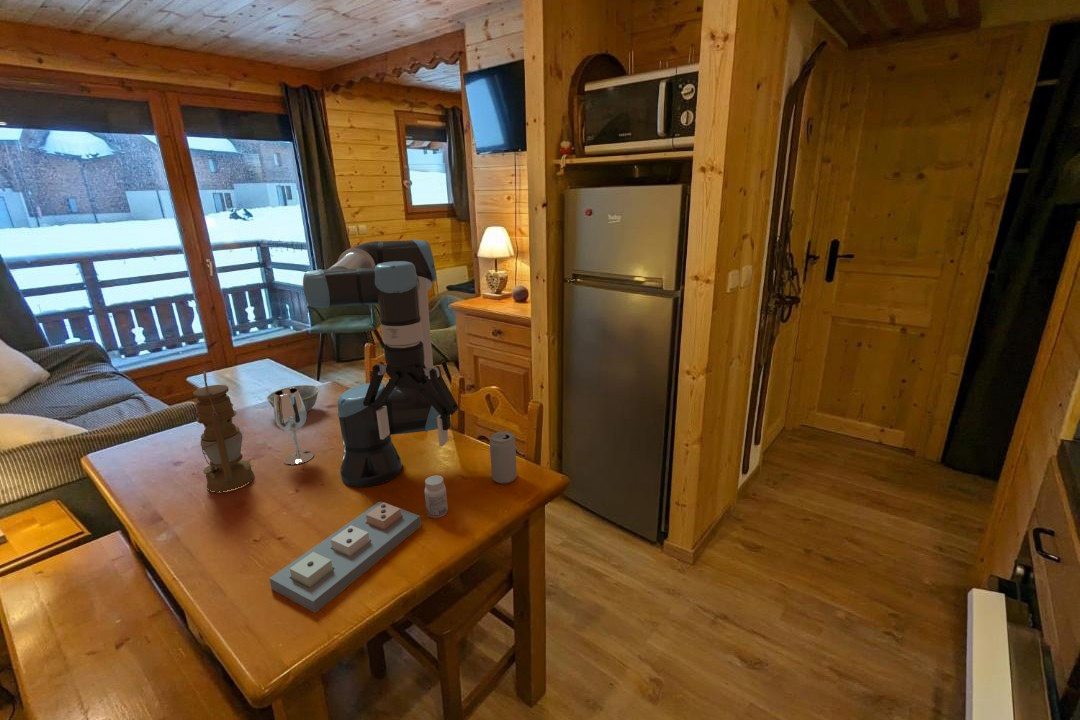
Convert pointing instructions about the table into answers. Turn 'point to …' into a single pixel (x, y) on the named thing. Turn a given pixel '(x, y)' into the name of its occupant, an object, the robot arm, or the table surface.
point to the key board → (344, 561)
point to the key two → (350, 541)
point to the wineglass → (291, 420)
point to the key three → (383, 516)
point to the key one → (311, 569)
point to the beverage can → (503, 457)
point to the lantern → (221, 439)
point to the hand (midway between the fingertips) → (414, 439)
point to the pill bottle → (435, 496)
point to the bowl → (306, 393)
